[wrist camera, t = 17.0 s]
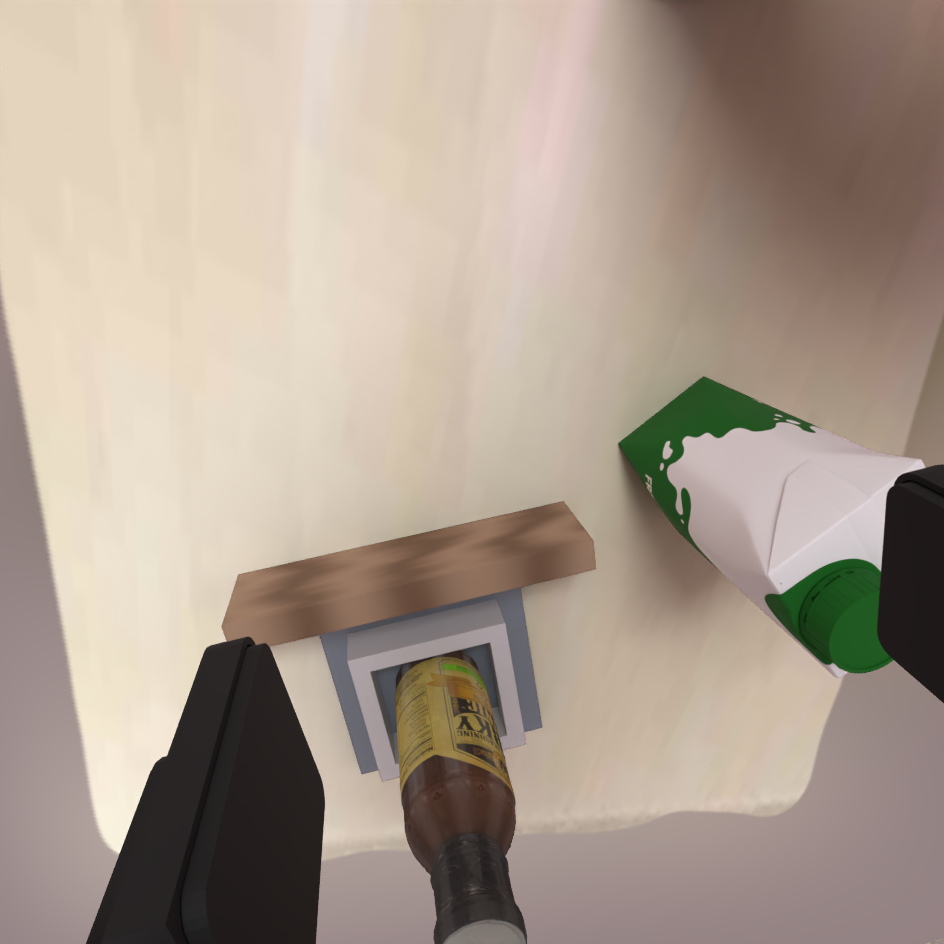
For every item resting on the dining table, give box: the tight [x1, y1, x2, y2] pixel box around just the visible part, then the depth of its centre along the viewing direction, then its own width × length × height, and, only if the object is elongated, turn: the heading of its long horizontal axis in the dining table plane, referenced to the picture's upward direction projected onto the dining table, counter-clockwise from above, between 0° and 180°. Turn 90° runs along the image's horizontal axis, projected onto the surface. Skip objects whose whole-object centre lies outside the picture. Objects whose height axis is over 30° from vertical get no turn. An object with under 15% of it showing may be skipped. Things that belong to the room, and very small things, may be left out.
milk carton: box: [618, 377, 925, 678], centre depth 36 cm, size 9×9×20 cm
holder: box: [320, 587, 542, 782], centre depth 46 cm, size 14×14×4 cm
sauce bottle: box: [395, 650, 527, 944], centre depth 38 cm, size 6×6×20 cm
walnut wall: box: [222, 501, 596, 647], centre depth 41 cm, size 22×2×6 cm, turn 99°
